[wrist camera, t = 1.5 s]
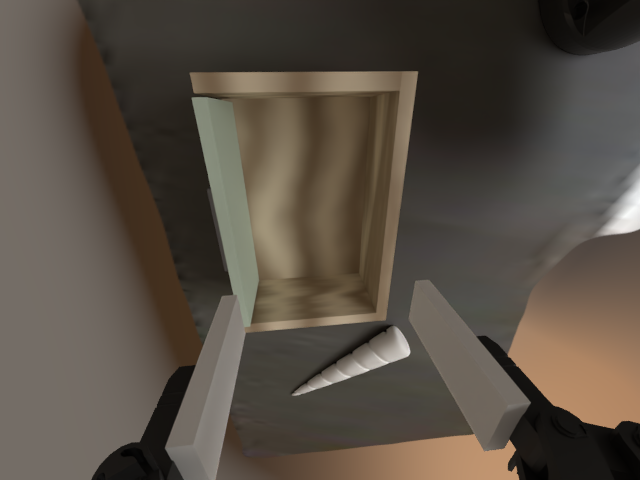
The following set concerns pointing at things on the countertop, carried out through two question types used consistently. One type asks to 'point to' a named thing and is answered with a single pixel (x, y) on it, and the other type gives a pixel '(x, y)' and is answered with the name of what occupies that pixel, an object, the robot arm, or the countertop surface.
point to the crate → (320, 187)
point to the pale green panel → (228, 198)
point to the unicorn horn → (362, 359)
